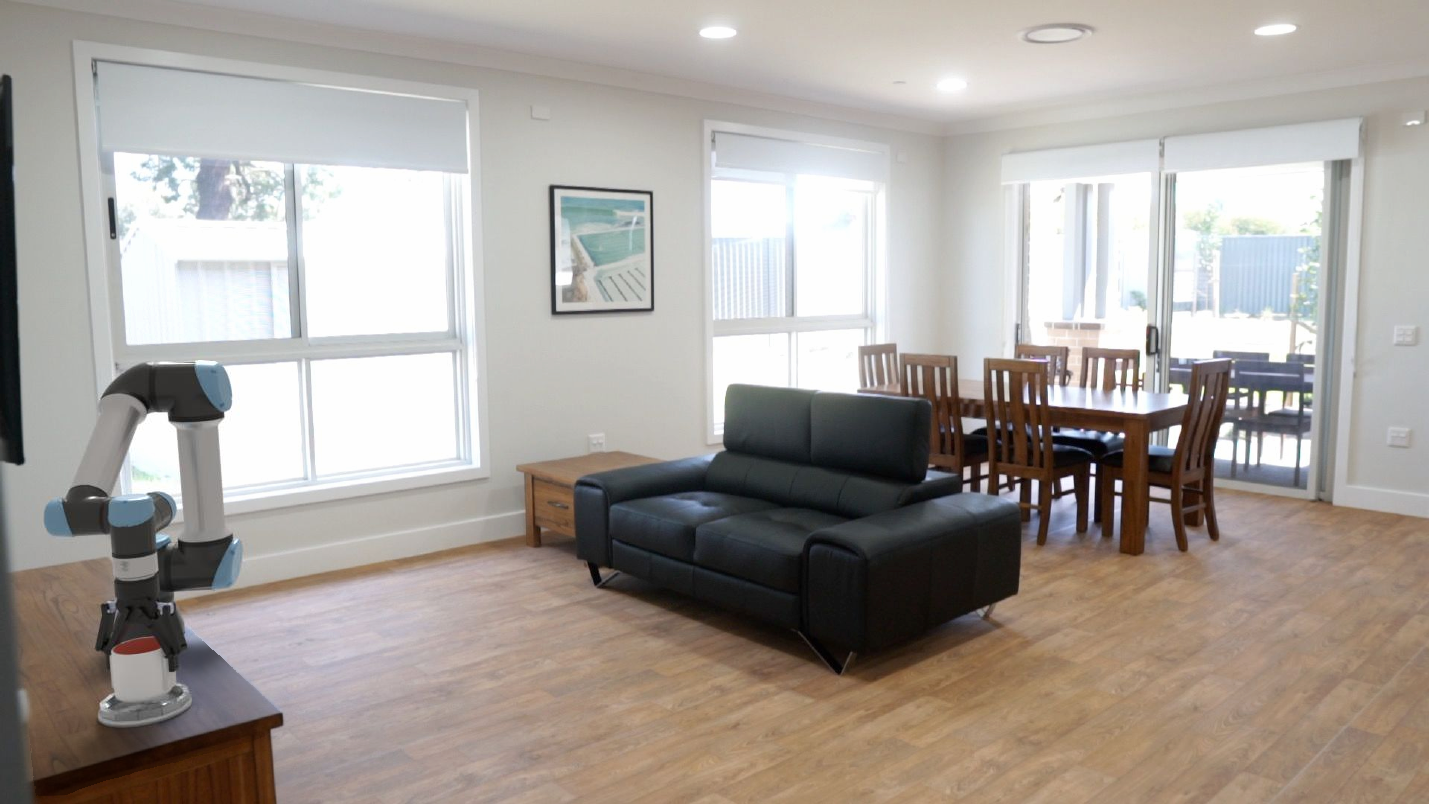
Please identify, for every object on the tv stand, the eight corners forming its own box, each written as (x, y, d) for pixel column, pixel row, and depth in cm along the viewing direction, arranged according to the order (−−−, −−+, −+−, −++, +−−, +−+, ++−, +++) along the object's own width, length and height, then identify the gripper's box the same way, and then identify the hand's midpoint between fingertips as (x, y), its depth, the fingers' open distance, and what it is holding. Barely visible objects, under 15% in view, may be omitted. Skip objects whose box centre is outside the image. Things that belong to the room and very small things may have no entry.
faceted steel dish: (123, 694, 206) (122, 682, 205) (205, 691, 207) (204, 679, 207) (81, 729, 190) (80, 716, 190) (170, 726, 191) (169, 713, 191)
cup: (120, 688, 201) (116, 640, 200) (177, 681, 204) (173, 633, 203) (110, 709, 192) (106, 658, 190) (169, 701, 195) (166, 651, 194)
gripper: (66, 579, 192) (76, 691, 195) (180, 583, 190) (188, 696, 193) (94, 568, 200) (102, 676, 203) (203, 571, 198) (210, 680, 201)
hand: (144, 686), depth 198 cm, fingers closed on cup, 10 cm apart
